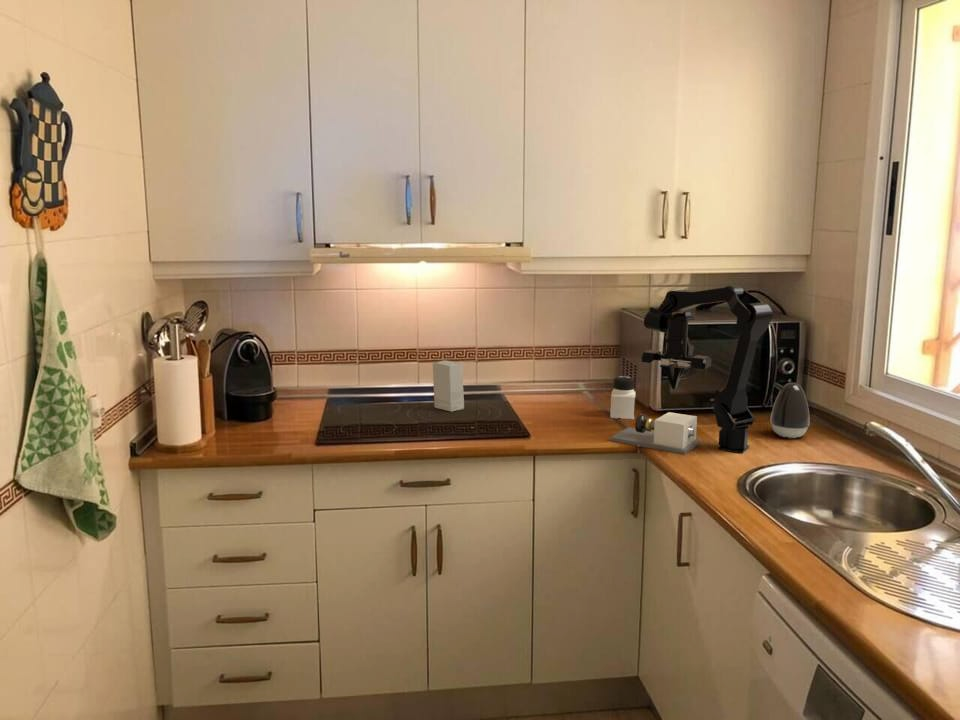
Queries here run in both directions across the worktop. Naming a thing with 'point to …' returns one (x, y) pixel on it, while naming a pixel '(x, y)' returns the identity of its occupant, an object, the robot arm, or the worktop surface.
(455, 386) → the skincare box
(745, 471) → the worktop surface
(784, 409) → the dark grey egg shape
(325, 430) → the worktop surface
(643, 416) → the metal shaft
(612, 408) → the medicine bottle
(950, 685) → the worktop surface
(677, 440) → the bearing block
